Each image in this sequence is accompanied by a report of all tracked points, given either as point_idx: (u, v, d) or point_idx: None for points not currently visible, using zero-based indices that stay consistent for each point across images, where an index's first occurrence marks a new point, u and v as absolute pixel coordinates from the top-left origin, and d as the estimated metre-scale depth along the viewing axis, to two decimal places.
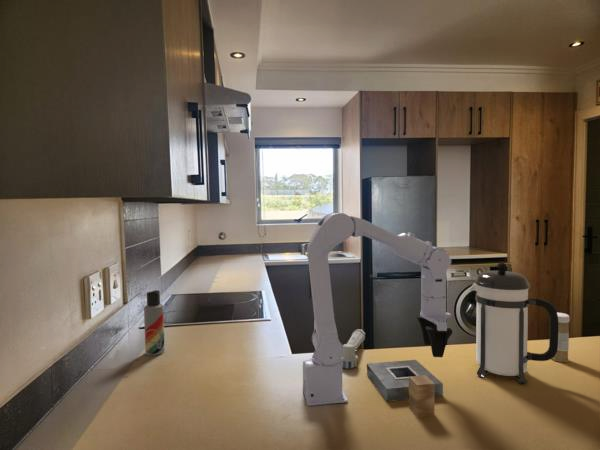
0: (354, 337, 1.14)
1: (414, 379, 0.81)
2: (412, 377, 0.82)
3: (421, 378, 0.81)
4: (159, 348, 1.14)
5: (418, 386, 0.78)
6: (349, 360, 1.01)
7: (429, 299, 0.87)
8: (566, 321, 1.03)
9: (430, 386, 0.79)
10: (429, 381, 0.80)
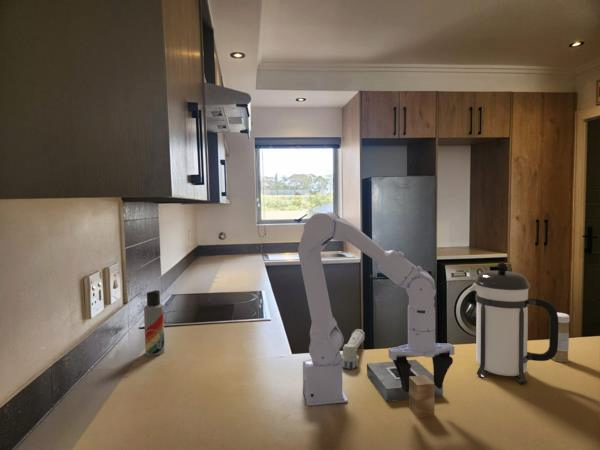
0: (354, 337, 1.14)
1: (414, 379, 0.81)
2: (412, 377, 0.82)
3: (421, 378, 0.81)
4: (159, 348, 1.14)
5: (418, 386, 0.78)
6: (350, 360, 1.01)
7: None
8: (566, 321, 1.03)
9: (430, 386, 0.79)
10: (429, 381, 0.80)
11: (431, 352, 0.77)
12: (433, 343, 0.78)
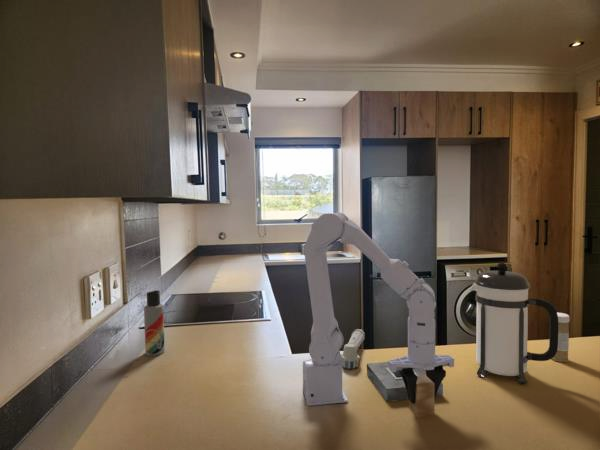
0: (354, 337, 1.15)
1: None
2: None
3: (421, 378, 0.81)
4: (159, 348, 1.14)
5: (418, 386, 0.78)
6: (351, 360, 1.01)
7: None
8: (566, 321, 1.03)
9: (430, 386, 0.79)
10: (429, 381, 0.80)
11: (431, 365, 0.77)
12: (433, 355, 0.78)
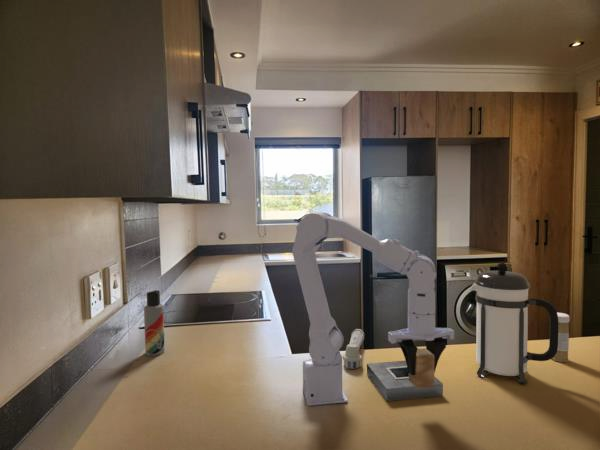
0: (355, 337, 1.15)
1: None
2: None
3: (421, 350, 0.81)
4: (159, 348, 1.14)
5: (418, 358, 0.78)
6: (354, 360, 1.01)
7: None
8: (566, 321, 1.03)
9: (430, 358, 0.78)
10: (429, 353, 0.79)
11: (431, 335, 0.77)
12: (433, 327, 0.78)
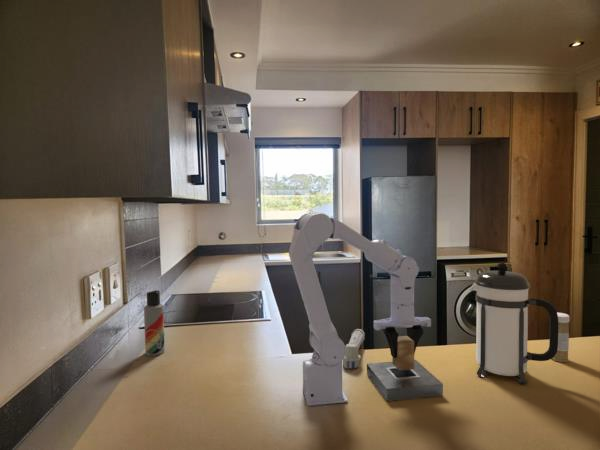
0: (355, 337, 1.15)
1: None
2: None
3: (402, 337, 0.93)
4: (159, 348, 1.14)
5: (400, 343, 0.90)
6: (353, 360, 1.01)
7: None
8: (566, 321, 1.03)
9: (411, 343, 0.90)
10: (410, 340, 0.91)
11: (410, 323, 0.89)
12: (412, 315, 0.90)
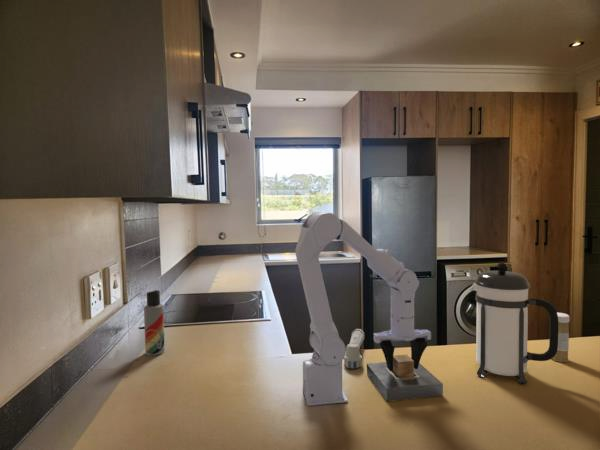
0: (355, 337, 1.15)
1: (396, 357, 0.92)
2: (395, 356, 0.93)
3: (402, 357, 0.93)
4: (159, 348, 1.14)
5: (399, 363, 0.90)
6: (354, 360, 1.01)
7: None
8: (566, 321, 1.03)
9: (410, 363, 0.90)
10: (409, 359, 0.91)
11: (410, 336, 0.89)
12: (412, 329, 0.90)
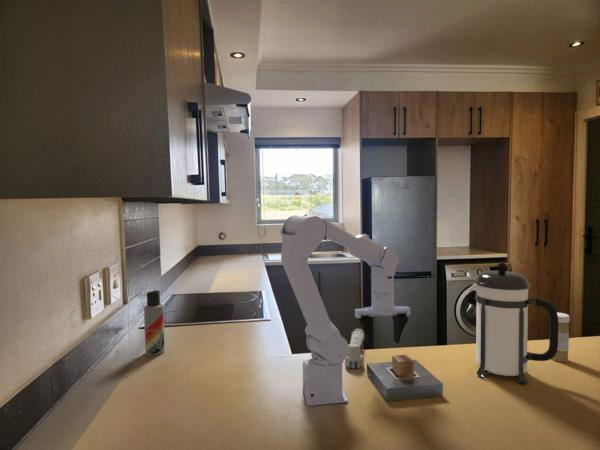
0: (356, 336, 1.15)
1: (396, 357, 0.92)
2: (395, 356, 0.93)
3: (402, 357, 0.93)
4: (159, 348, 1.14)
5: (399, 363, 0.90)
6: (355, 360, 1.01)
7: None
8: (566, 321, 1.03)
9: (410, 363, 0.90)
10: (409, 359, 0.91)
11: (389, 311, 0.93)
12: (391, 304, 0.94)
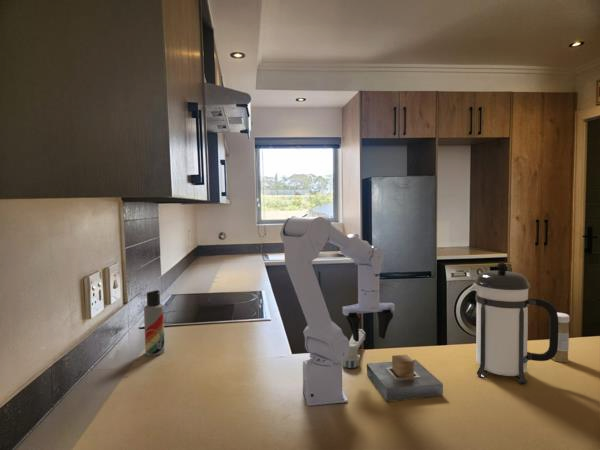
0: None
1: (396, 357, 0.92)
2: (395, 356, 0.93)
3: (402, 357, 0.93)
4: (159, 348, 1.14)
5: (399, 363, 0.90)
6: (352, 359, 1.02)
7: None
8: (566, 321, 1.03)
9: (410, 363, 0.90)
10: (409, 359, 0.91)
11: (376, 308, 0.96)
12: (377, 301, 0.97)
